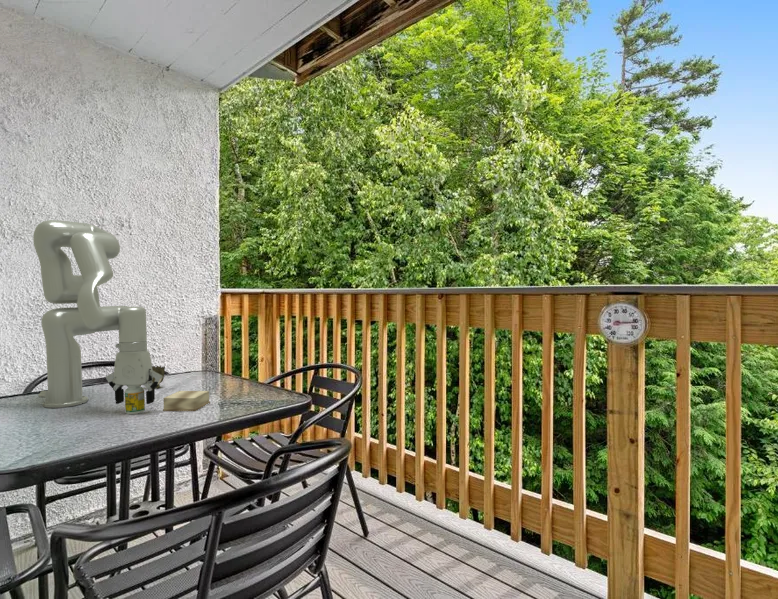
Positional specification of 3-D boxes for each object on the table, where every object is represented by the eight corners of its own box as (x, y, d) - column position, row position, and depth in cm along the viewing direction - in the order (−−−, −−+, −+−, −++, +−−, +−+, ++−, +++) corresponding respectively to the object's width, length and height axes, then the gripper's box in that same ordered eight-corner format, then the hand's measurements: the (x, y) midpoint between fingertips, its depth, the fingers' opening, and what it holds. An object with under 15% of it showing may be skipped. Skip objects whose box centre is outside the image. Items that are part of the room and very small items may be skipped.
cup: (159, 390, 184) (159, 368, 183) (139, 390, 184) (139, 368, 184) (168, 386, 191) (168, 365, 191) (149, 386, 191) (149, 365, 191)
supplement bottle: (149, 410, 154) (148, 380, 154) (135, 415, 149) (134, 383, 149) (135, 409, 156) (134, 379, 156) (121, 414, 151) (120, 382, 151)
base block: (162, 411, 154) (162, 398, 154) (179, 402, 164) (179, 390, 164) (195, 411, 153) (195, 398, 153) (210, 403, 163) (209, 390, 163)
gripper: (98, 349, 149) (100, 405, 149) (153, 348, 148) (155, 406, 148) (113, 345, 156) (115, 399, 157) (167, 345, 155) (168, 400, 156)
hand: (135, 402), depth 153 cm, fingers open, 9 cm apart
